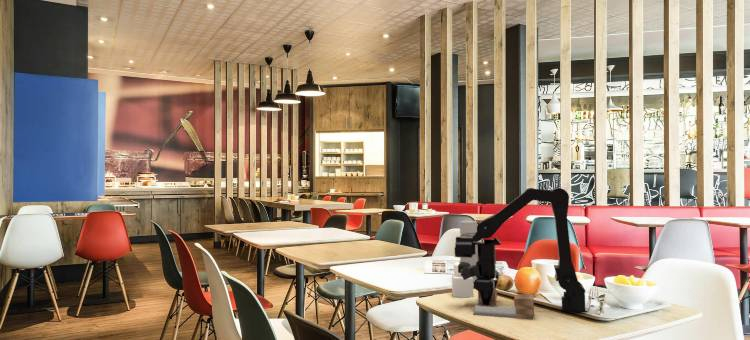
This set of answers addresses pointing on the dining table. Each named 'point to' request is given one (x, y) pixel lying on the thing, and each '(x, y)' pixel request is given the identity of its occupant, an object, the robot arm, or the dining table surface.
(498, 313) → the rail
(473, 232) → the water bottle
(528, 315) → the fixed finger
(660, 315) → the dining table surface
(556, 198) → the robot arm
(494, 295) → the block
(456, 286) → the medicine bottle
